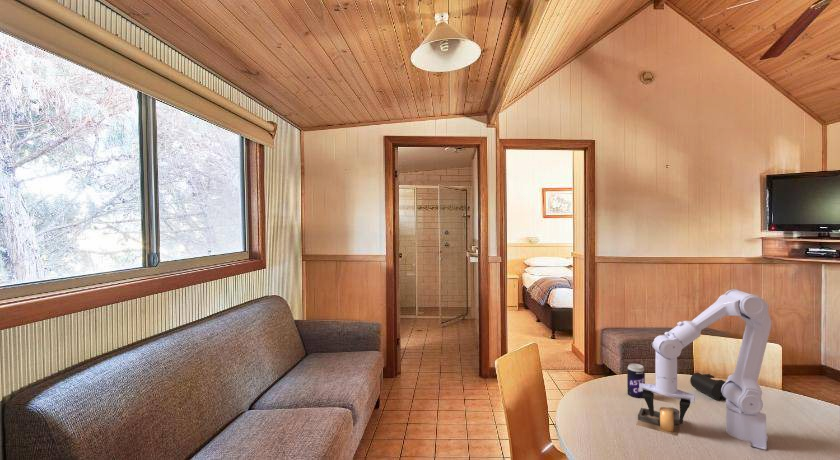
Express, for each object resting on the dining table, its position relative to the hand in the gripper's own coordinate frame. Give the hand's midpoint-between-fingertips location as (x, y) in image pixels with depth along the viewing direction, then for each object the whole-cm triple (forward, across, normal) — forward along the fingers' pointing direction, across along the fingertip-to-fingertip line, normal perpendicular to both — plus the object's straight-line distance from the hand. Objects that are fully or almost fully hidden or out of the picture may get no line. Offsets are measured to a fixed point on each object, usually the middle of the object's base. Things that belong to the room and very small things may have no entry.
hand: (666, 418), depth 121 cm
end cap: (+5, -9, -39) cm, 40 cm away
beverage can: (+5, +12, -21) cm, 24 cm away
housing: (+4, +2, -2) cm, 6 cm away
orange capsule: (+3, 0, 0) cm, 3 cm away
